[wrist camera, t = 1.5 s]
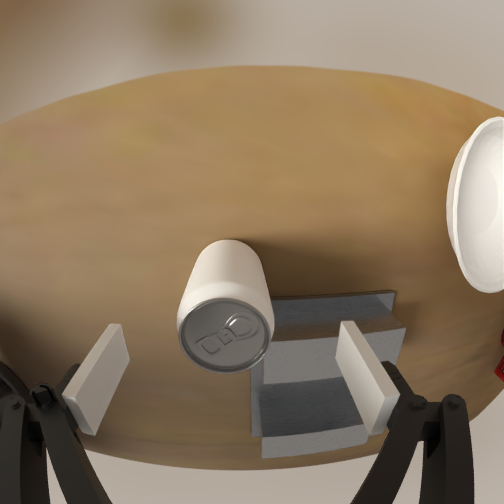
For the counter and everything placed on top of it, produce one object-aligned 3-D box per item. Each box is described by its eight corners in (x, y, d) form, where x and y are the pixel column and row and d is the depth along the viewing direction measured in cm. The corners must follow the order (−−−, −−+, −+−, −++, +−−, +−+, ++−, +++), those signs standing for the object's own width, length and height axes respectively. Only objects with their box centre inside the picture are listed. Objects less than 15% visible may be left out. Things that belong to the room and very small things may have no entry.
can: (274, 277, 29) (297, 348, 17) (221, 311, 30) (215, 392, 18) (236, 224, 27) (237, 269, 16) (182, 262, 28) (150, 327, 17)
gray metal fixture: (251, 432, 36) (253, 464, 30) (249, 297, 29) (252, 328, 24) (357, 420, 37) (369, 447, 31) (391, 289, 30) (417, 313, 25)
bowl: (494, 104, 24) (527, 102, 18) (520, 234, 30) (549, 246, 23) (393, 147, 26) (429, 146, 20) (436, 301, 31) (464, 325, 25)
